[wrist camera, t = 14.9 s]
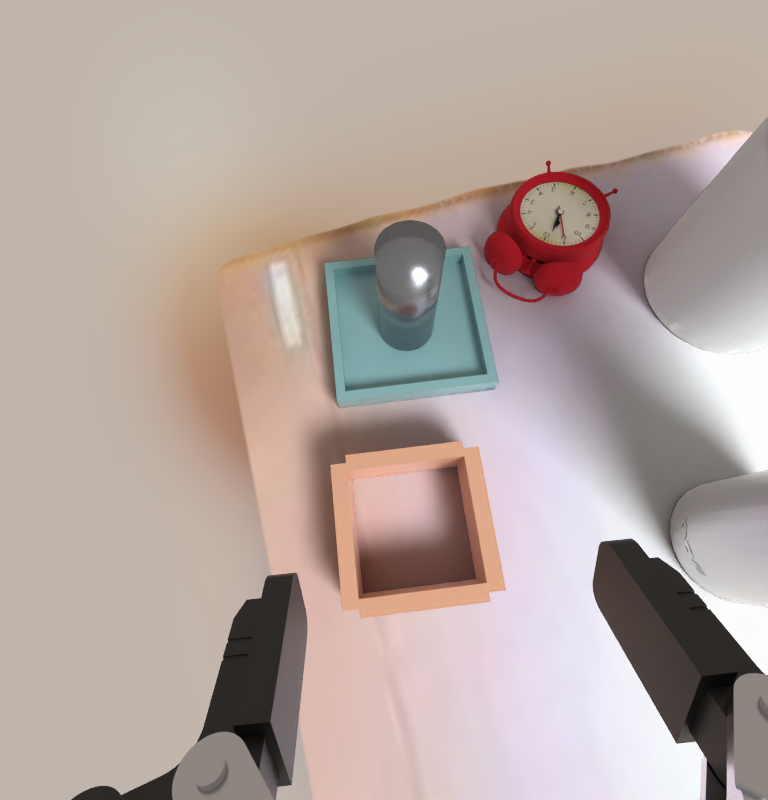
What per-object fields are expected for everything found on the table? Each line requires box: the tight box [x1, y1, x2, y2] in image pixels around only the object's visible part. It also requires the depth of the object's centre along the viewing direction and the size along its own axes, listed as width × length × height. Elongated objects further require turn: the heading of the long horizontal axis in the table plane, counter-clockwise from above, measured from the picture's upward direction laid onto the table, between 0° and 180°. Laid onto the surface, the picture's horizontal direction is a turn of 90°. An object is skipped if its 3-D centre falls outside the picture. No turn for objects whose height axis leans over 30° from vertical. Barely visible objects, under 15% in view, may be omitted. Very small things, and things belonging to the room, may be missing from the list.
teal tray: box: [324, 246, 499, 408], centre depth 42 cm, size 14×14×2 cm
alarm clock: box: [484, 161, 618, 302], centre depth 43 cm, size 10×6×15 cm
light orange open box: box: [330, 441, 506, 618], centre depth 35 cm, size 11×11×4 cm
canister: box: [374, 220, 446, 351], centre depth 37 cm, size 5×5×11 cm
